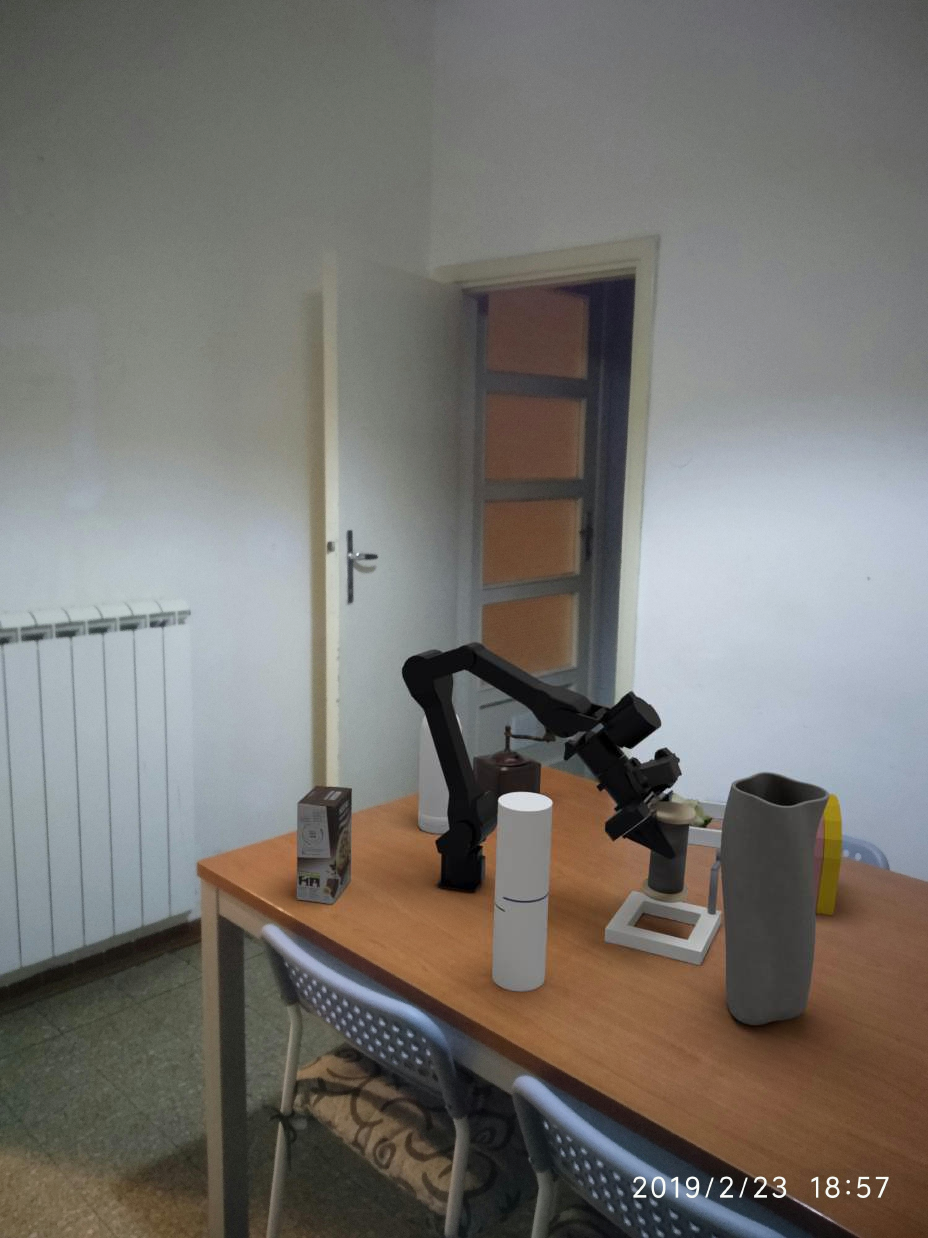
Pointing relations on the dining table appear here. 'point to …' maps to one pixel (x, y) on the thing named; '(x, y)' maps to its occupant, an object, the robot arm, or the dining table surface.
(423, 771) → the bottle
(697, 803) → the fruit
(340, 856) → the coffee box
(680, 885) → the disc
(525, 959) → the cylindrical container
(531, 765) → the coffee grinder
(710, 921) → the rectangular frame
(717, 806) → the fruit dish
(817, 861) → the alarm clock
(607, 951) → the dining table surface
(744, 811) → the vase
